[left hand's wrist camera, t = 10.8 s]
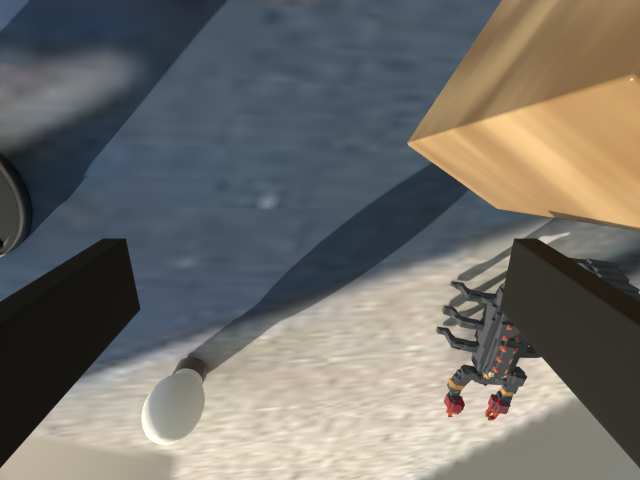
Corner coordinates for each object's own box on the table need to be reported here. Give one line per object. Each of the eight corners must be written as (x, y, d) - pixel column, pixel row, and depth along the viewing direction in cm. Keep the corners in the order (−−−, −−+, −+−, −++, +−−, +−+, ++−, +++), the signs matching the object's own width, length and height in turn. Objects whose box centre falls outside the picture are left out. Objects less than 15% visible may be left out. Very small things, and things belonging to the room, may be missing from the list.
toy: (585, 228, 41) (770, 315, 24) (508, 404, 50) (602, 557, 33) (473, 211, 41) (580, 287, 24) (416, 392, 50) (464, 541, 33)
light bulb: (160, 371, 49) (117, 441, 39) (185, 340, 48) (146, 404, 37) (202, 395, 51) (170, 468, 41) (227, 365, 49) (201, 434, 39)
